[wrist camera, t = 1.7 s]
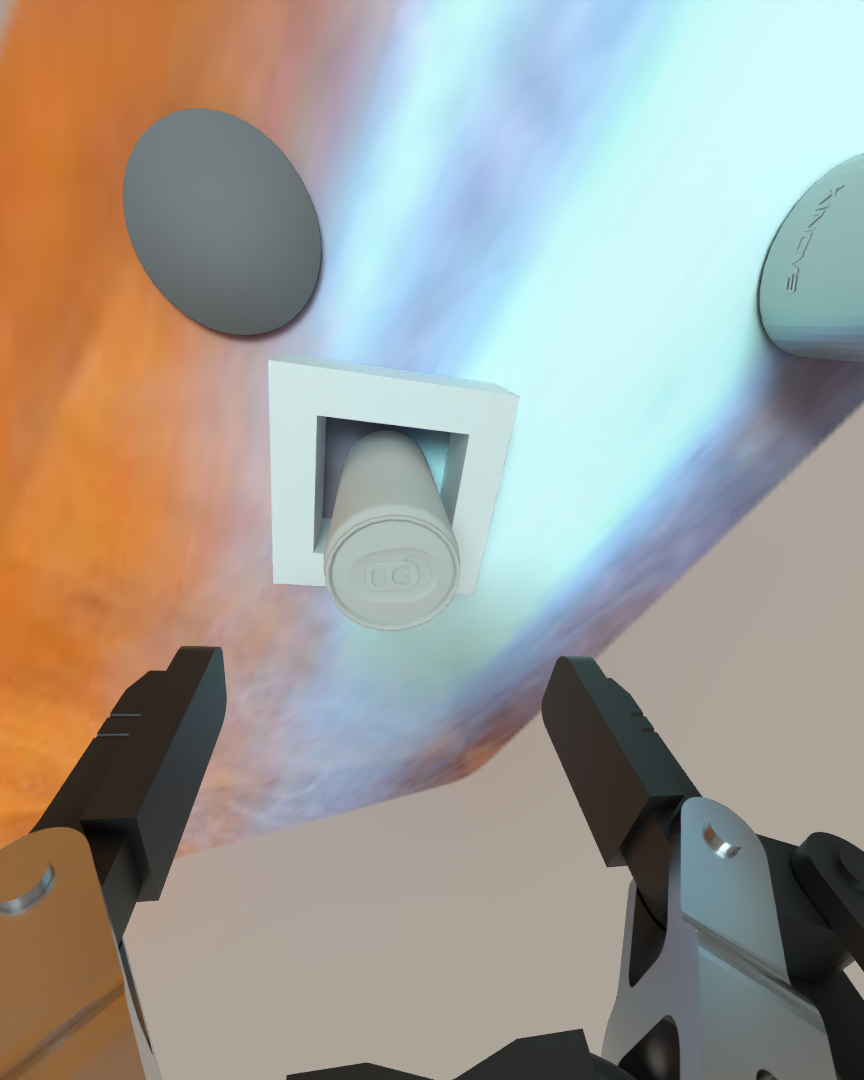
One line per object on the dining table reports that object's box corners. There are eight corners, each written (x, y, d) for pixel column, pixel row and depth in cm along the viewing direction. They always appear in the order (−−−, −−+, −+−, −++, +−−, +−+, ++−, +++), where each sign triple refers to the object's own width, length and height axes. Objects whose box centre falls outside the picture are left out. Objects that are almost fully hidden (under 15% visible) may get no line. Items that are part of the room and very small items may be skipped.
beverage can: (427, 503, 26) (463, 627, 15) (348, 508, 26) (330, 640, 15) (425, 425, 24) (466, 507, 13) (339, 428, 23) (309, 517, 13)
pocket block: (495, 383, 23) (519, 396, 19) (459, 556, 28) (473, 594, 24) (288, 352, 21) (268, 359, 17) (288, 543, 26) (273, 583, 22)
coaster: (324, 141, 18) (322, 135, 17) (318, 346, 21) (317, 347, 21) (114, 91, 16) (105, 83, 16) (145, 319, 20) (139, 320, 19)
